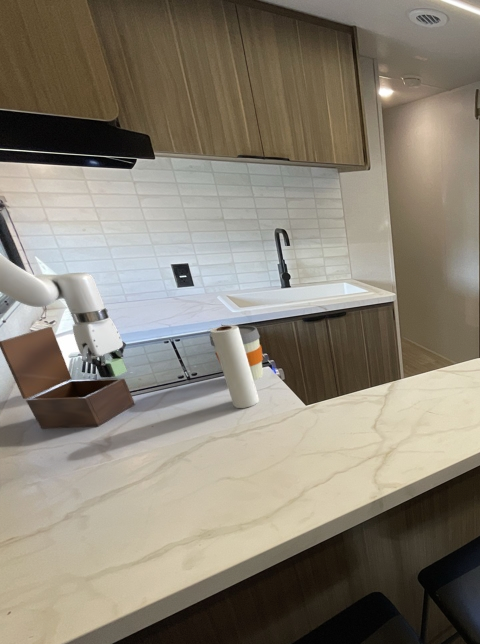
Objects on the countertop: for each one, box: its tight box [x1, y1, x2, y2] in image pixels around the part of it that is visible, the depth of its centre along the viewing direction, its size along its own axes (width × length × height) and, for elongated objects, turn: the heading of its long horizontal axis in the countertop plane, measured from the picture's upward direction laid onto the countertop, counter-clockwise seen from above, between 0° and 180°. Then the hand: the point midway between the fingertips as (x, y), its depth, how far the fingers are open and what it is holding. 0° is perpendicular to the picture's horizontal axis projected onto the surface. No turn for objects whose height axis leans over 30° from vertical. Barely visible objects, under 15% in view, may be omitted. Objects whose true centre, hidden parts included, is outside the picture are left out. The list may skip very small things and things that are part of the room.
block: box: [105, 358, 128, 378], centre depth 124 cm, size 4×4×4 cm
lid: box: [0, 326, 73, 400], centre depth 97 cm, size 14×12×1 cm
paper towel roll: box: [209, 324, 260, 409], centre depth 105 cm, size 7×6×21 cm
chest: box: [25, 378, 136, 429], centre depth 102 cm, size 14×12×8 cm
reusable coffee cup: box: [208, 325, 264, 382], centre depth 122 cm, size 13×13×15 cm
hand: (113, 373), depth 125 cm, fingers closed on block, 4 cm apart
